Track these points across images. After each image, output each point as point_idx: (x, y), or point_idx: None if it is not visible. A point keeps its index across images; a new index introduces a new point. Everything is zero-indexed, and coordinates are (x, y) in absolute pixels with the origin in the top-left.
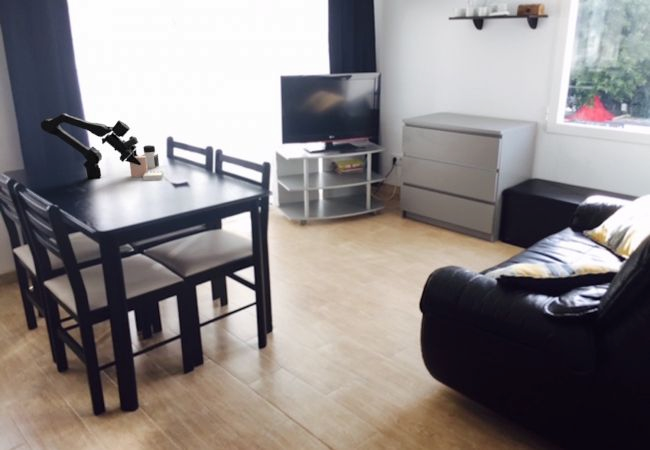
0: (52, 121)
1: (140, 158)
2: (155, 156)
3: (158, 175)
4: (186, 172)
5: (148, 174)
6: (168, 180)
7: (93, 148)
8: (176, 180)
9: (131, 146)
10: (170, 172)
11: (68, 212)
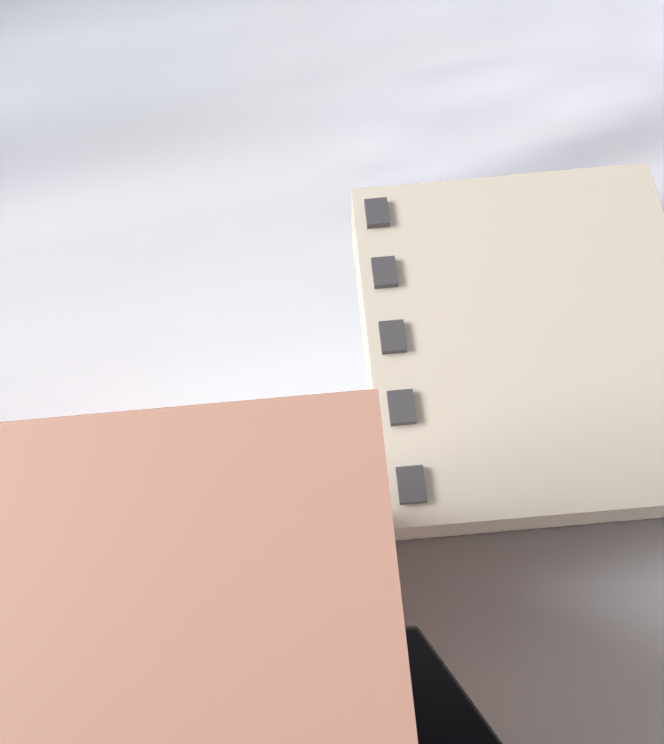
0: None
1: (405, 638)
2: None
3: (658, 208)
4: (132, 7)
5: (614, 407)
6: (632, 123)
7: None
8: (620, 31)
9: None
10: (82, 200)
11: None
